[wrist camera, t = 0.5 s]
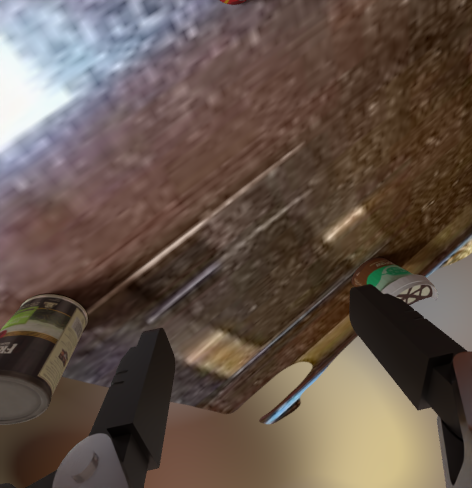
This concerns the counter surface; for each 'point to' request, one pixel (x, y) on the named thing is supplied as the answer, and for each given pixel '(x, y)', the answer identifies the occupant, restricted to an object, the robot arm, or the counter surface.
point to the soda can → (233, 1)
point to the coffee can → (36, 354)
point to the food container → (394, 280)
